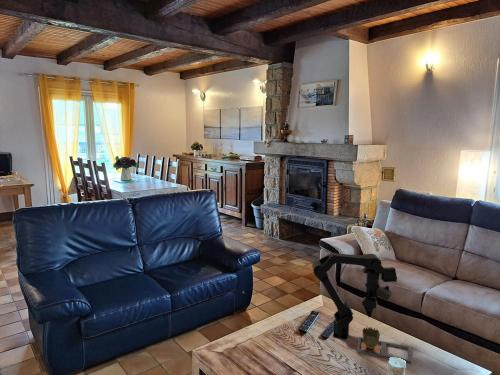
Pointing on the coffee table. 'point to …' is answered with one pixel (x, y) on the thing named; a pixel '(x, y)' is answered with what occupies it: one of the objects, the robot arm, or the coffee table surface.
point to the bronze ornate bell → (370, 337)
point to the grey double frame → (383, 349)
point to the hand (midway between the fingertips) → (370, 312)
